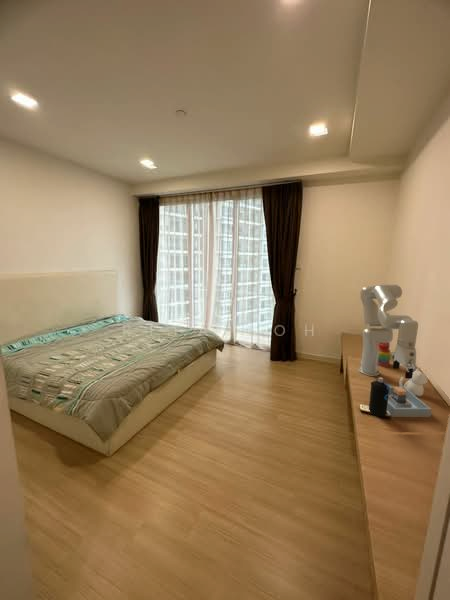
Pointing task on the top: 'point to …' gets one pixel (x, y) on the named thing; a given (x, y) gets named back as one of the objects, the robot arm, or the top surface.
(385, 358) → the stacking bear
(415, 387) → the cat figurine
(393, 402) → the inlet
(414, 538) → the top surface
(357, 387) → the top surface
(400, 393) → the block
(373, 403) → the aerosol can
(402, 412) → the walled box
